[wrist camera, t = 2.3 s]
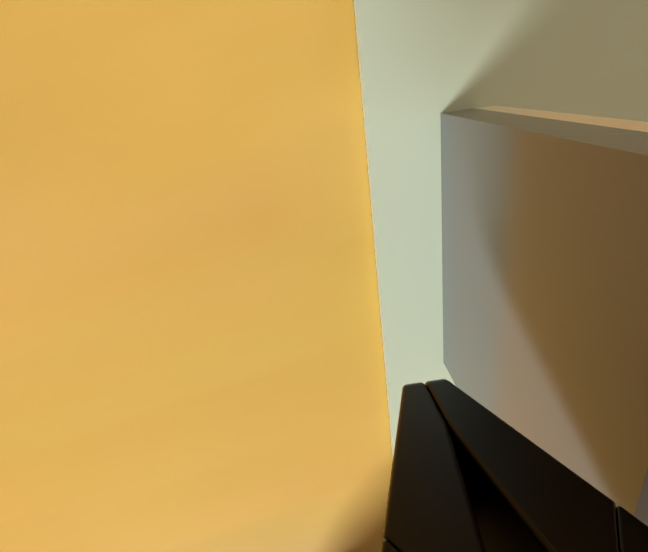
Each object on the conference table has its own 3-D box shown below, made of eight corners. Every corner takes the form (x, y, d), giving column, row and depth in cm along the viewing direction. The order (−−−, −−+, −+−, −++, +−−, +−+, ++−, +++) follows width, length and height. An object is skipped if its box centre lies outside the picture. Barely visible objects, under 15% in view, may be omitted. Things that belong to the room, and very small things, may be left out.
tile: (484, 356, 16) (680, 640, 8) (443, 362, 16) (595, 651, 8) (494, 105, 12) (893, 149, 4) (440, 113, 12) (729, 173, 4)
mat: (748, 456, 20) (757, 463, 20) (396, 507, 20) (398, 515, 20) (1007, -159, 11) (1031, -167, 10) (348, -62, 11) (350, -67, 10)
